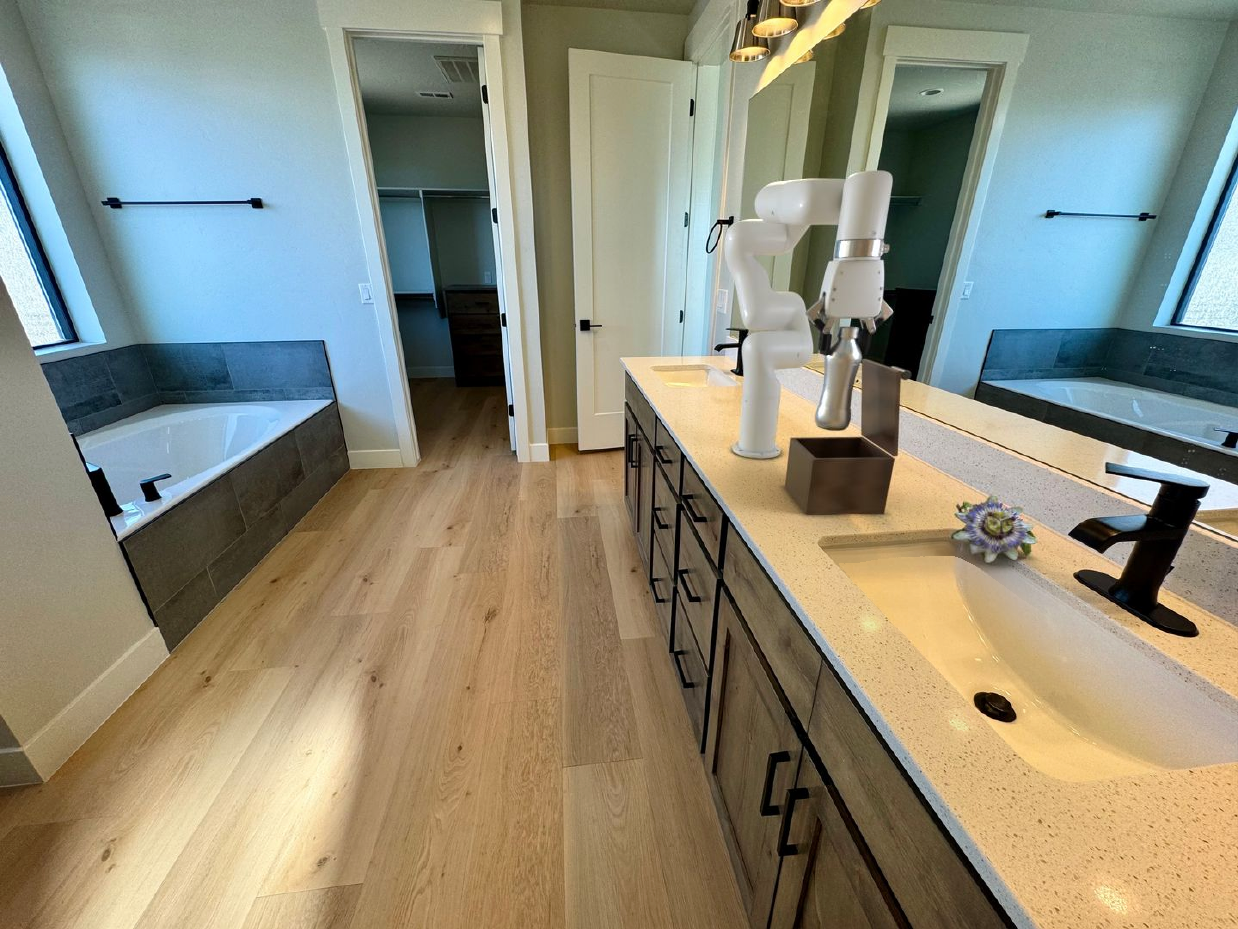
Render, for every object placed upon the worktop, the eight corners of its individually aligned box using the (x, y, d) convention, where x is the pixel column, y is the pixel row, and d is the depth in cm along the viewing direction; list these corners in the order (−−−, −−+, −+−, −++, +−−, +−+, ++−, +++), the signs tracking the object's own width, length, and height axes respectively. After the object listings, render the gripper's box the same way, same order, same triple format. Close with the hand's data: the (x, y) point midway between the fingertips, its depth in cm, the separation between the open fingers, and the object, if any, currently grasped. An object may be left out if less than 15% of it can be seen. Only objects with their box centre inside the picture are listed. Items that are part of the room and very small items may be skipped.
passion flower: (979, 588, 83) (951, 540, 80) (957, 546, 92) (931, 501, 89) (1059, 566, 78) (1033, 513, 74) (1027, 524, 87) (1002, 474, 83)
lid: (896, 371, 88) (925, 367, 87) (861, 359, 100) (886, 355, 100) (893, 456, 94) (920, 452, 93) (861, 434, 106) (884, 431, 106)
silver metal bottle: (851, 435, 96) (872, 329, 88) (815, 433, 97) (833, 328, 90) (844, 426, 101) (863, 326, 94) (810, 424, 103) (826, 325, 95)
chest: (805, 514, 98) (813, 459, 94) (784, 487, 111) (790, 437, 107) (884, 513, 98) (895, 458, 94) (853, 486, 111) (862, 436, 106)
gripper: (895, 252, 91) (878, 350, 97) (801, 253, 91) (790, 352, 97) (918, 250, 84) (898, 356, 90) (816, 251, 84) (804, 358, 90)
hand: (842, 353), depth 94 cm, fingers closed on silver metal bottle, 6 cm apart
